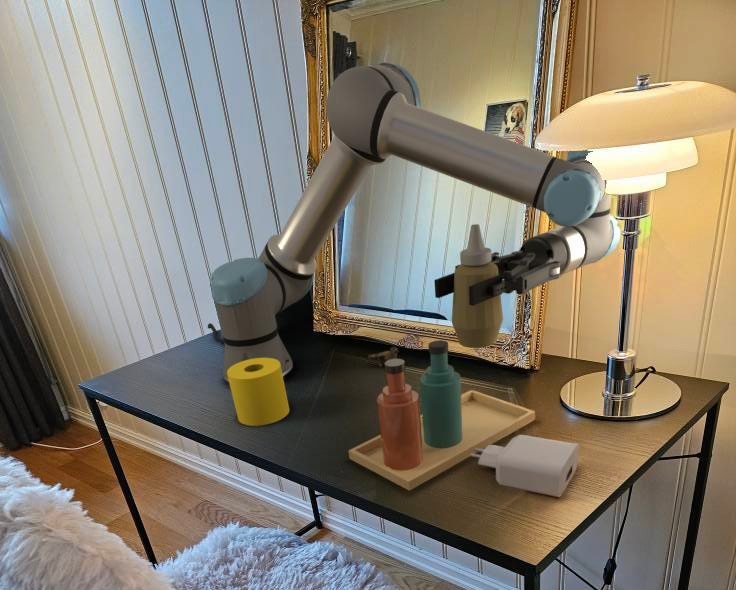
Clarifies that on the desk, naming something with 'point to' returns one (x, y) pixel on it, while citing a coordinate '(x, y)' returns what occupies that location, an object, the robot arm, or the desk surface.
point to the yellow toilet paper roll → (258, 391)
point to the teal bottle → (441, 400)
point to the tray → (479, 429)
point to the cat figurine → (384, 356)
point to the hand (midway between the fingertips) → (453, 292)
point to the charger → (532, 464)
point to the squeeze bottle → (468, 321)
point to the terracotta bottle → (399, 420)
